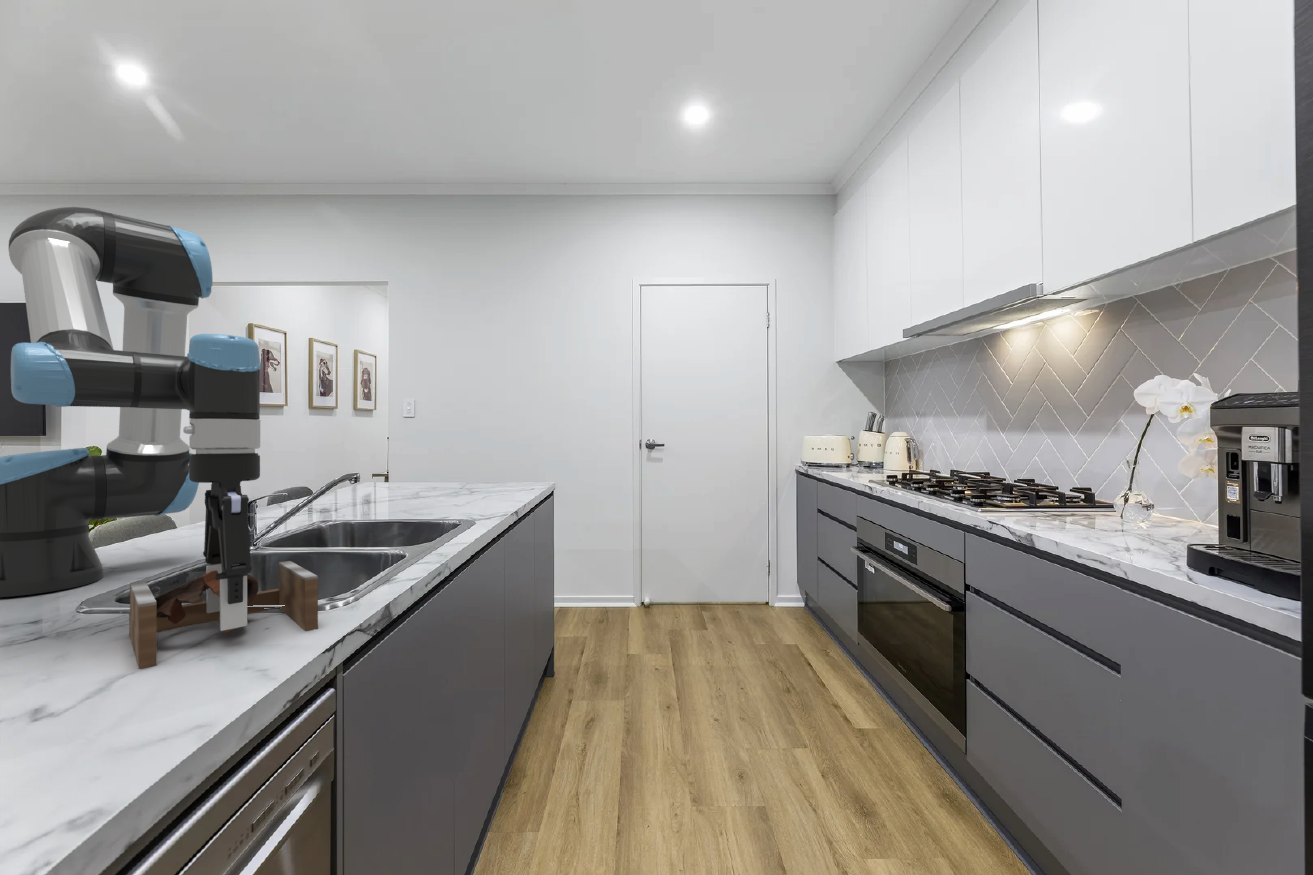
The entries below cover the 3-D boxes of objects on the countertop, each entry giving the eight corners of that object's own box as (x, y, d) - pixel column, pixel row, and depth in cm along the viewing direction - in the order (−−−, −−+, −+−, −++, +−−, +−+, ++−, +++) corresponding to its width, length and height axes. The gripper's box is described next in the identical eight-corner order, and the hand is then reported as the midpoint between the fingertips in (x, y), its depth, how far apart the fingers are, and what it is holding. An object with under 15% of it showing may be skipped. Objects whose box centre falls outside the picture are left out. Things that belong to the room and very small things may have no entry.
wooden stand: (129, 635, 74) (129, 580, 74) (287, 606, 87) (287, 559, 87) (138, 668, 63) (138, 604, 63) (317, 629, 76) (317, 575, 76)
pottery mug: (211, 644, 68) (176, 585, 67) (157, 669, 70) (122, 612, 69) (288, 599, 80) (260, 549, 79) (240, 621, 82) (211, 572, 81)
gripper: (178, 451, 80) (178, 607, 80) (203, 453, 64) (203, 647, 64) (242, 450, 85) (242, 596, 85) (279, 452, 70) (280, 631, 70)
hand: (226, 618), depth 75 cm, fingers open, 9 cm apart
